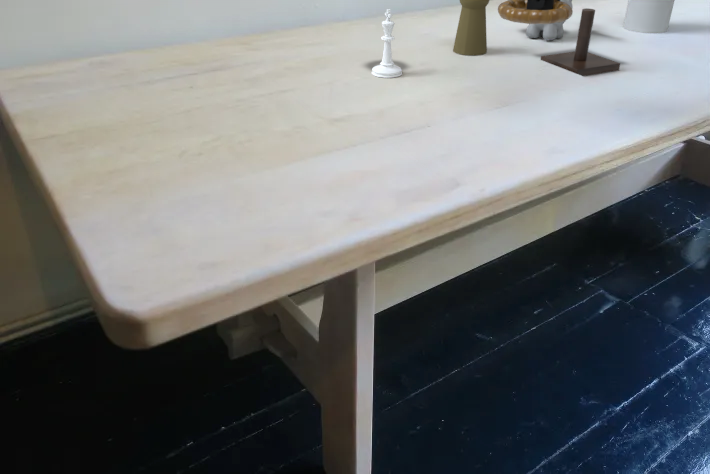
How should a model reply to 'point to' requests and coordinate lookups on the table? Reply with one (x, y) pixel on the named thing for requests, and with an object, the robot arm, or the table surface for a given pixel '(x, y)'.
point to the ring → (534, 12)
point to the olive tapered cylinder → (471, 28)
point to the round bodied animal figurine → (547, 28)
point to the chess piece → (387, 52)
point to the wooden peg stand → (583, 52)
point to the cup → (648, 16)
